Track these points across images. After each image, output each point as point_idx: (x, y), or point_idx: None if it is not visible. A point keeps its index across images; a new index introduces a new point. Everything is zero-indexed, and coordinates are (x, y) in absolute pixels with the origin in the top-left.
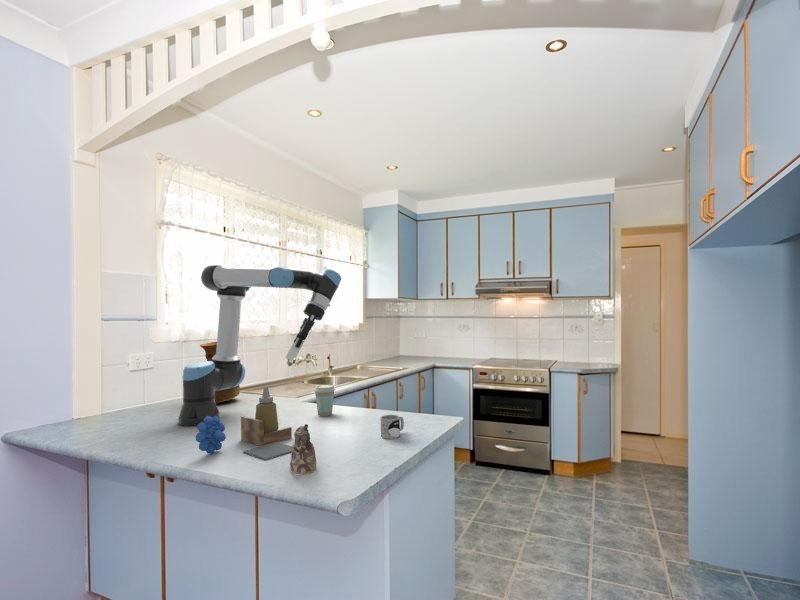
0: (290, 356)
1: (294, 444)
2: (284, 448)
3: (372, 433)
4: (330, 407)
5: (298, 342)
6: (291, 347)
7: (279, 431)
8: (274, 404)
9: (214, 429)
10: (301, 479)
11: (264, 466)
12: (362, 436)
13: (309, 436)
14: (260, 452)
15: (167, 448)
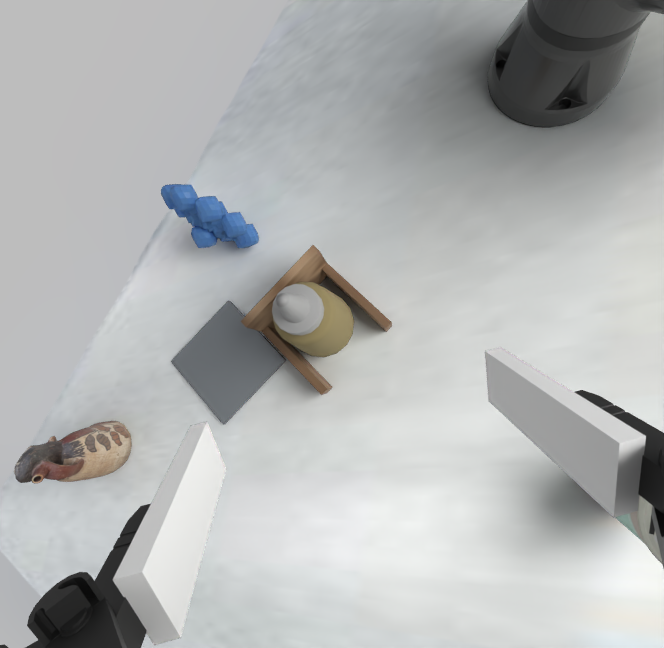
0: (501, 391)
1: (48, 442)
2: (228, 390)
3: (333, 635)
4: (616, 518)
5: (116, 560)
6: (557, 408)
7: (294, 365)
8: (294, 343)
9: (195, 222)
10: None
11: (143, 366)
12: (307, 598)
13: (64, 477)
14: (211, 341)
15: (288, 128)
